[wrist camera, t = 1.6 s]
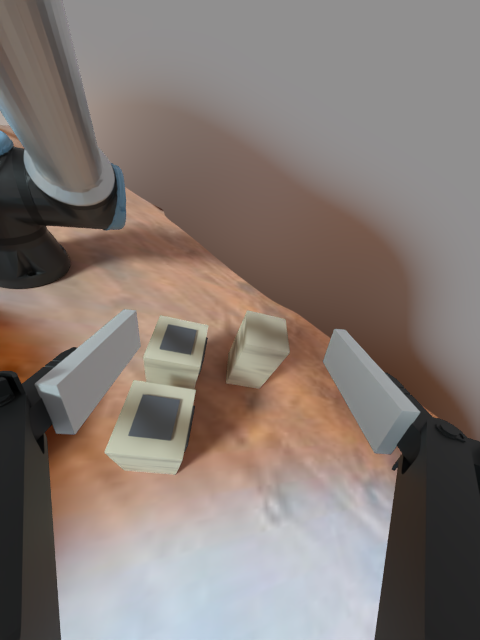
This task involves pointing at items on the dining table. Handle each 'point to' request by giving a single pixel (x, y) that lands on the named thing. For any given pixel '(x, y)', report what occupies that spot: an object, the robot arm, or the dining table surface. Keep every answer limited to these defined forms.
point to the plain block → (257, 350)
